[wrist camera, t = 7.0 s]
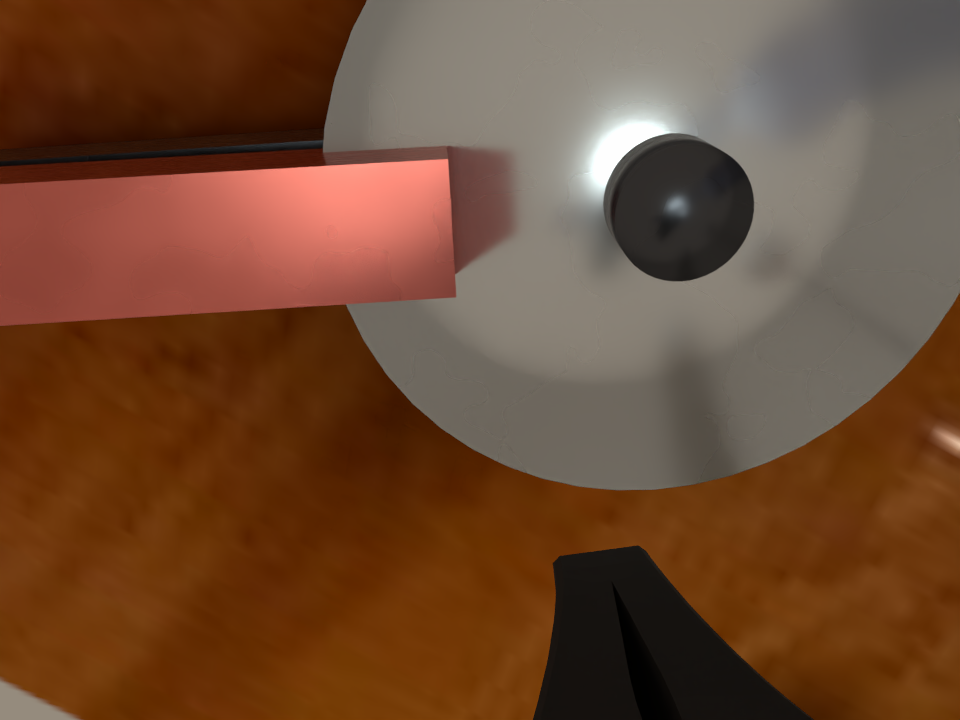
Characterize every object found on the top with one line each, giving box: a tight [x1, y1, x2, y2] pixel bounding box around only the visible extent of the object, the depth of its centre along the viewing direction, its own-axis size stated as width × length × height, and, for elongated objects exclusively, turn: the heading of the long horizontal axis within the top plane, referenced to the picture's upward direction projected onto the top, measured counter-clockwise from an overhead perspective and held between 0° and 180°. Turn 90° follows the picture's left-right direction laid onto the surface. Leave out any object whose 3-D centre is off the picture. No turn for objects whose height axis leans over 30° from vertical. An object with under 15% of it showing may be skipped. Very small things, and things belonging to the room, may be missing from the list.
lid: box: [0, 0, 960, 490], centre depth 15 cm, size 20×13×2 cm, turn 93°
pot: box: [0, 128, 324, 167], centre depth 18 cm, size 18×18×5 cm
